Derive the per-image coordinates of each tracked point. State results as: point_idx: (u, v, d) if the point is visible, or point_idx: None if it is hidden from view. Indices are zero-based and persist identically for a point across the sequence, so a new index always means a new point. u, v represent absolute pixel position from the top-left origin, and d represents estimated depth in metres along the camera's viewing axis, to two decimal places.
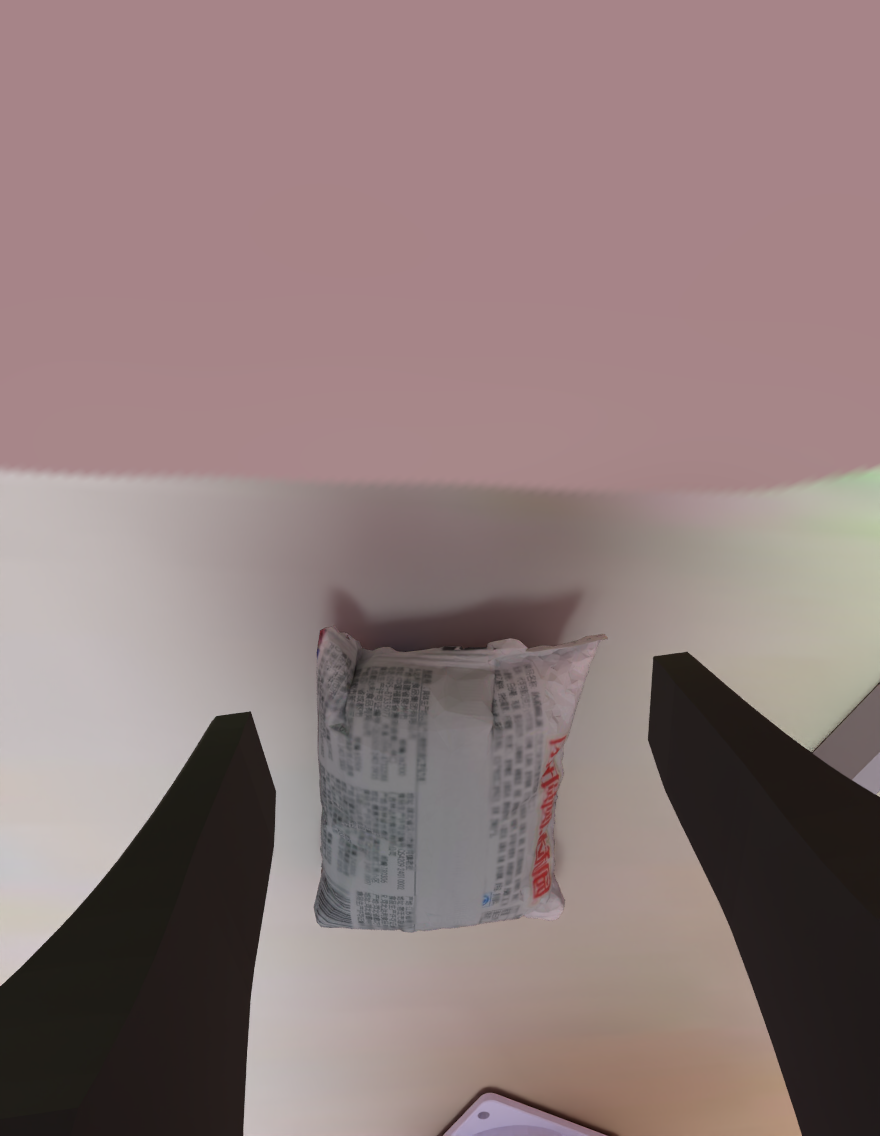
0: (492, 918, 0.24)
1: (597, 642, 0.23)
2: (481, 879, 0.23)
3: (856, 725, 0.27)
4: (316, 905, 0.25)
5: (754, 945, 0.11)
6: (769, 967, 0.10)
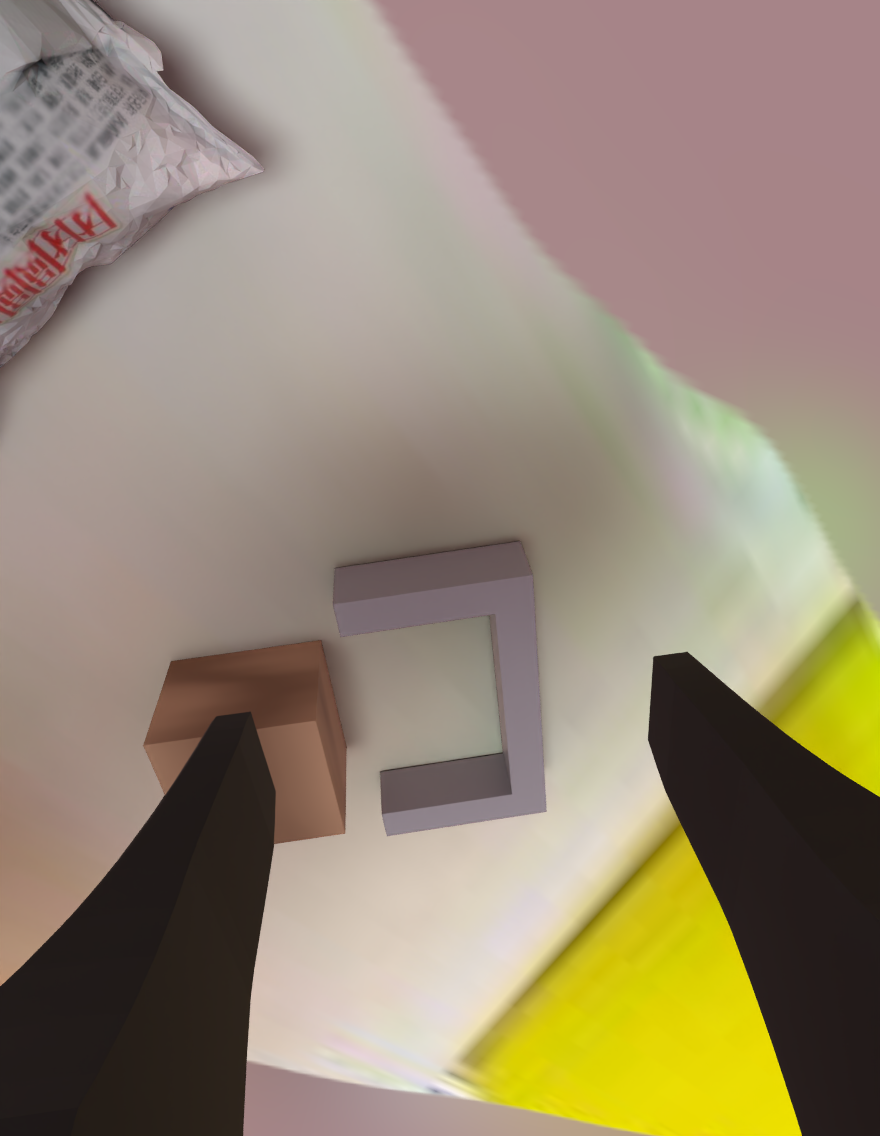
0: None
1: (248, 171, 0.16)
2: None
3: (410, 566, 0.23)
4: None
5: (754, 945, 0.11)
6: (769, 967, 0.10)
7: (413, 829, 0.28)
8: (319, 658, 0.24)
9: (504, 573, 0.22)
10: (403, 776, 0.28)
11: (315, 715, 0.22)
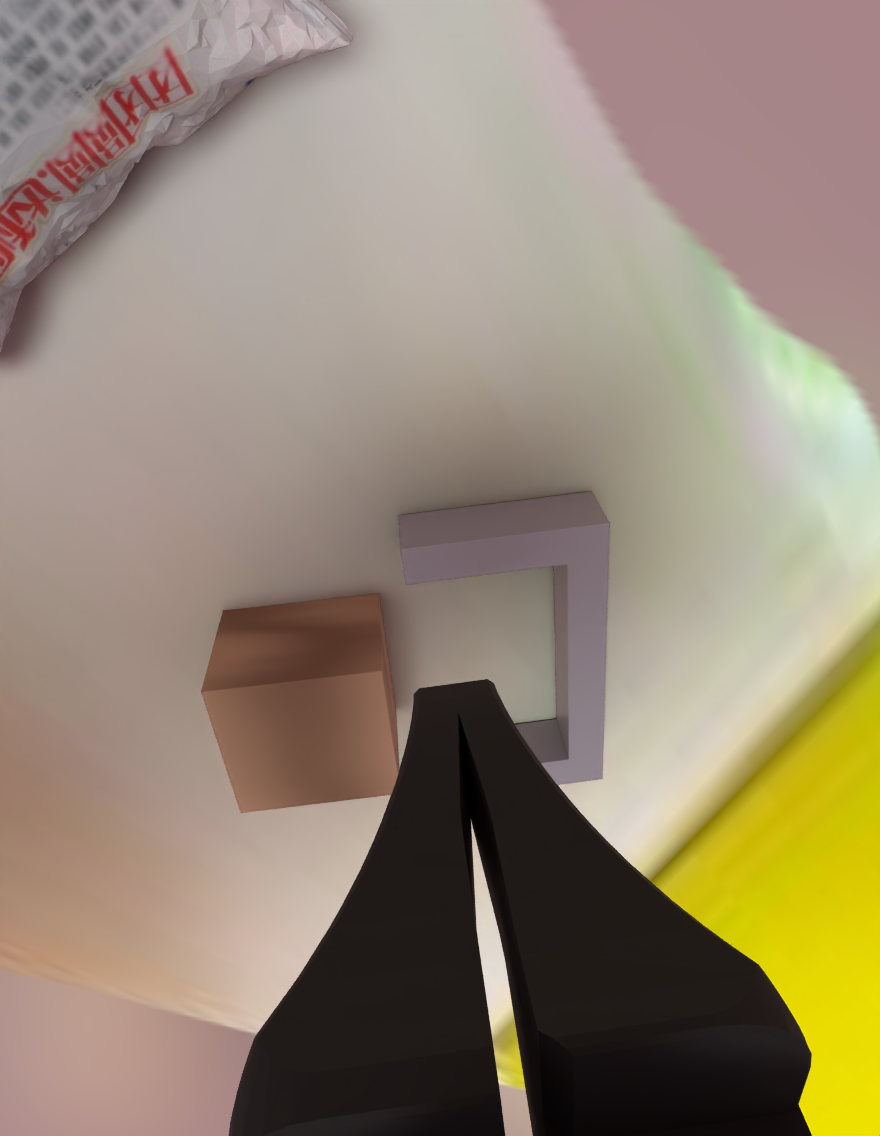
0: None
1: (334, 43, 0.15)
2: None
3: (478, 514, 0.22)
4: None
5: (510, 981, 0.11)
6: (515, 1004, 0.10)
7: None
8: (379, 611, 0.23)
9: (579, 521, 0.21)
10: None
11: (380, 666, 0.21)
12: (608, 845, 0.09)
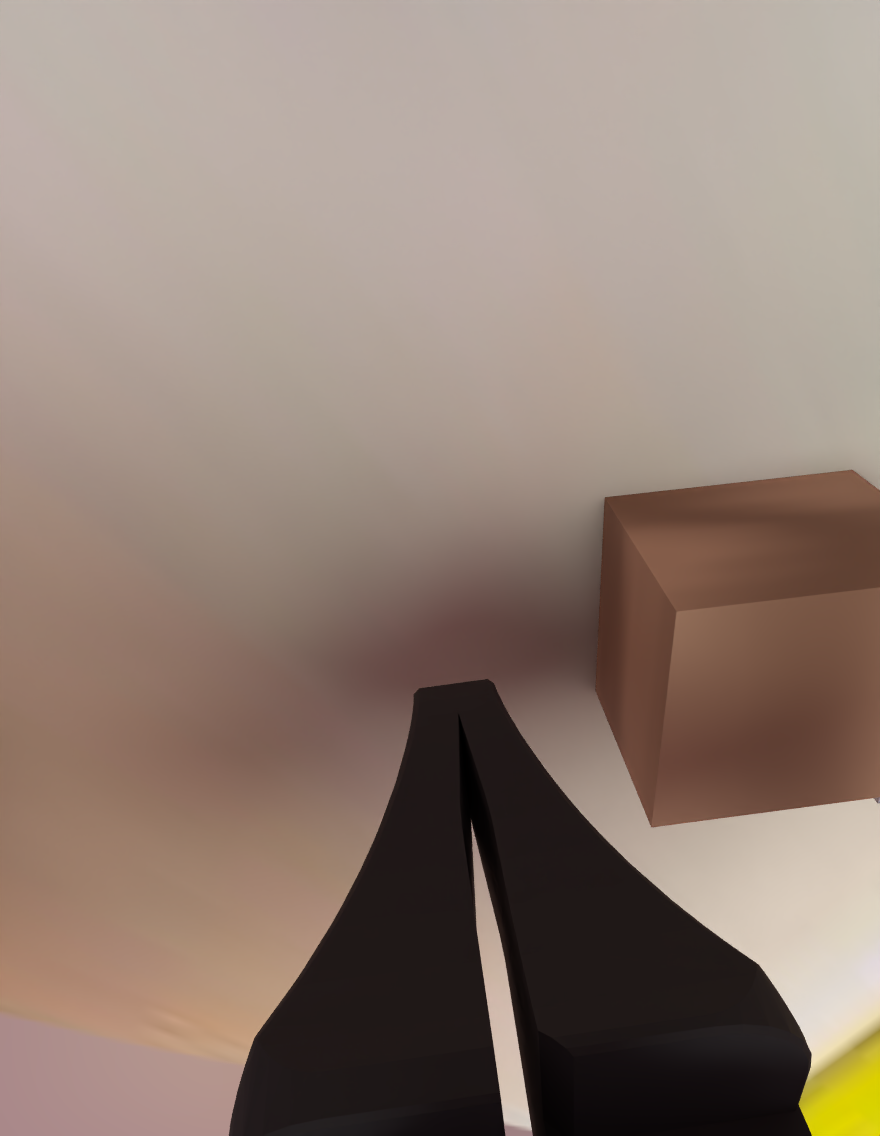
0: None
1: None
2: None
3: None
4: None
5: (510, 981, 0.11)
6: (514, 1004, 0.10)
7: None
8: (879, 492, 0.14)
9: None
10: None
11: None
12: (608, 845, 0.09)
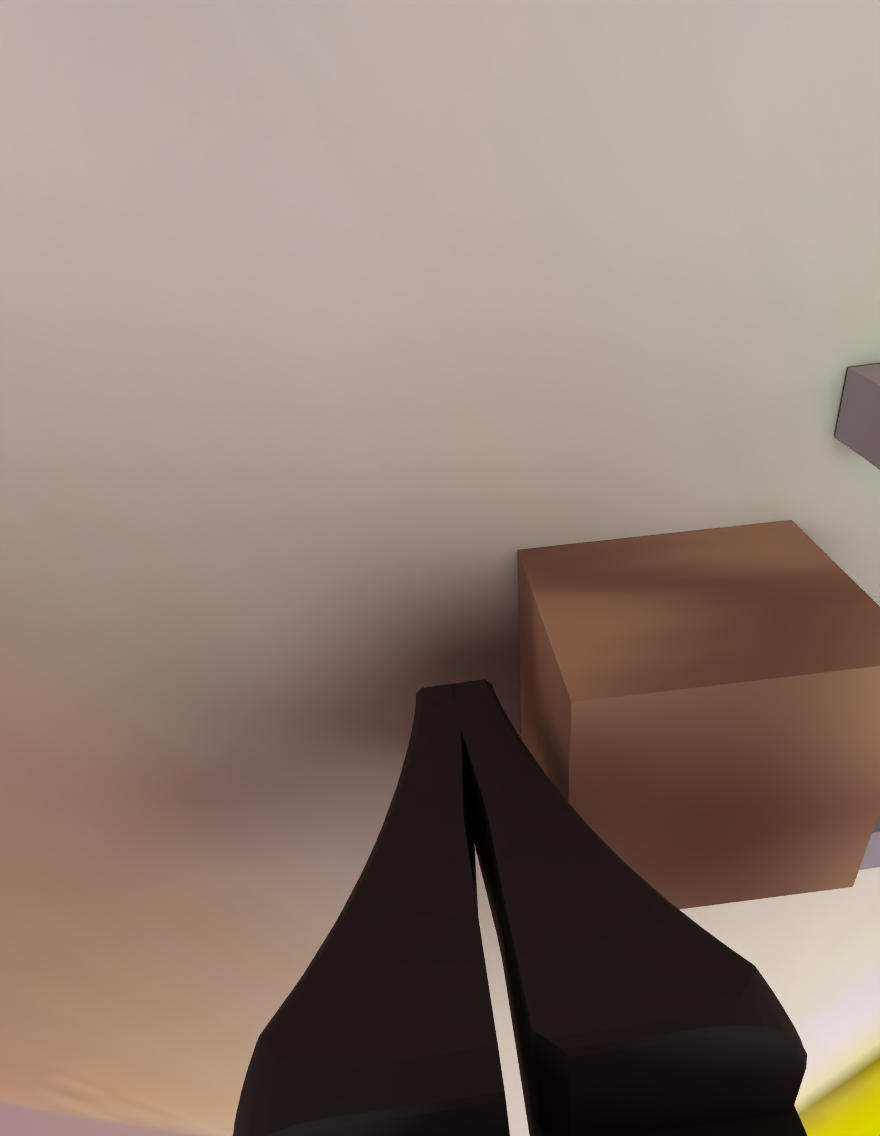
0: None
1: None
2: None
3: None
4: None
5: (507, 981, 0.11)
6: (512, 1005, 0.10)
7: None
8: (820, 552, 0.13)
9: None
10: None
11: None
12: (605, 846, 0.09)
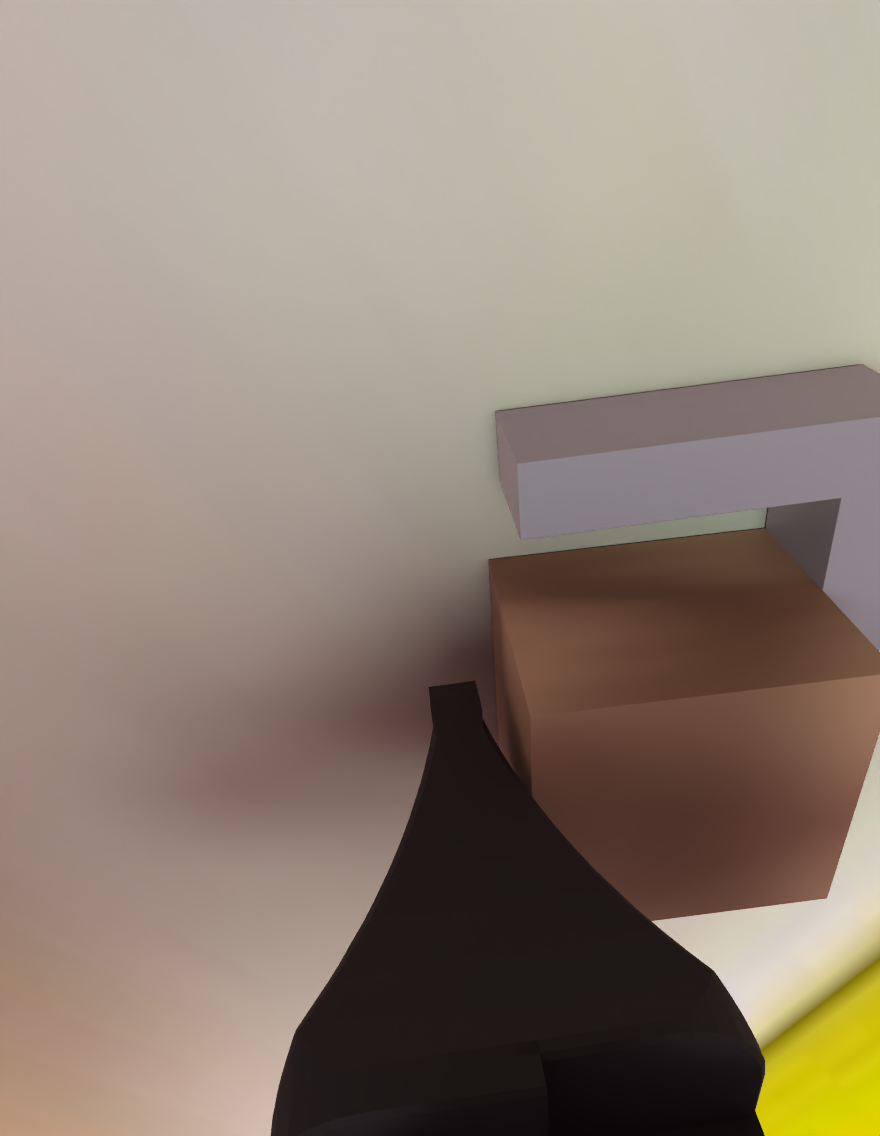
0: None
1: None
2: None
3: (655, 404, 0.12)
4: None
5: None
6: None
7: None
8: (792, 561, 0.13)
9: (873, 408, 0.11)
10: None
11: None
12: (573, 850, 0.09)
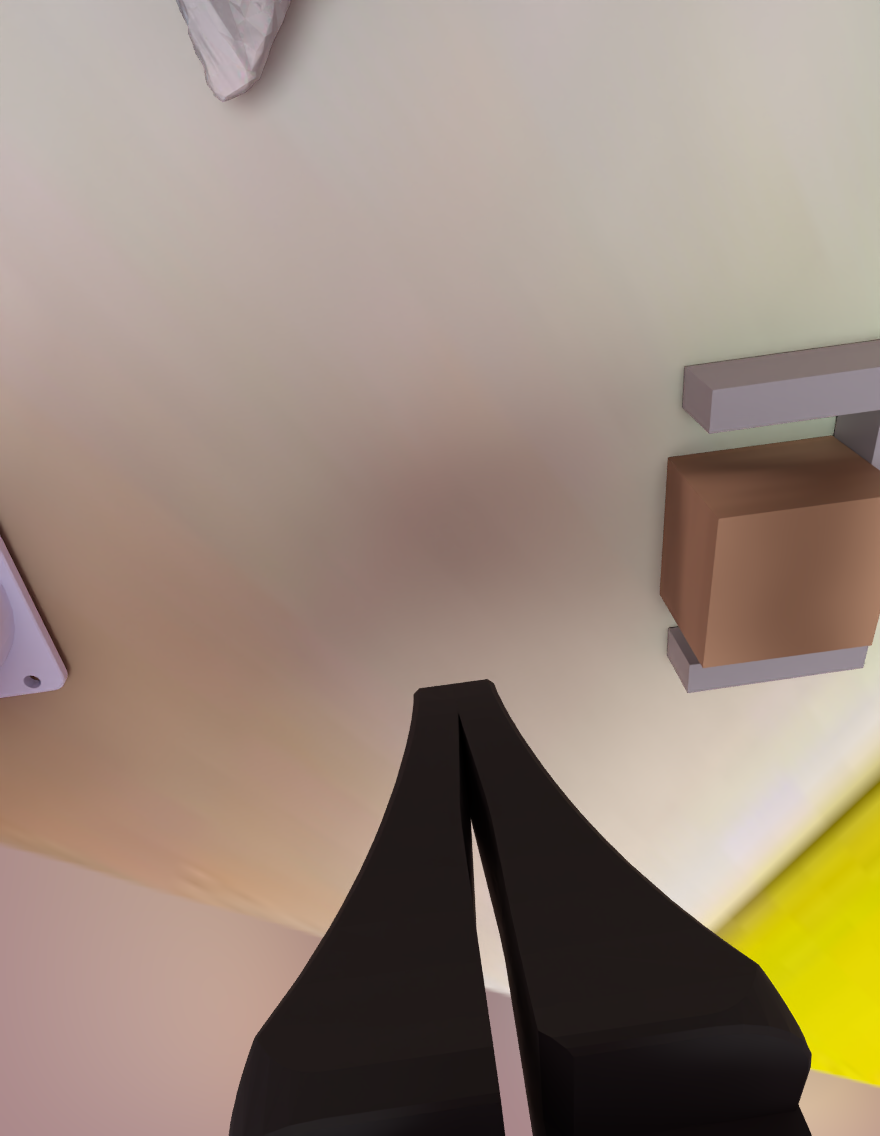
0: None
1: None
2: None
3: (777, 360, 0.21)
4: None
5: (510, 981, 0.11)
6: (515, 1004, 0.10)
7: (717, 685, 0.25)
8: (848, 449, 0.22)
9: None
10: None
11: None
12: (608, 845, 0.09)
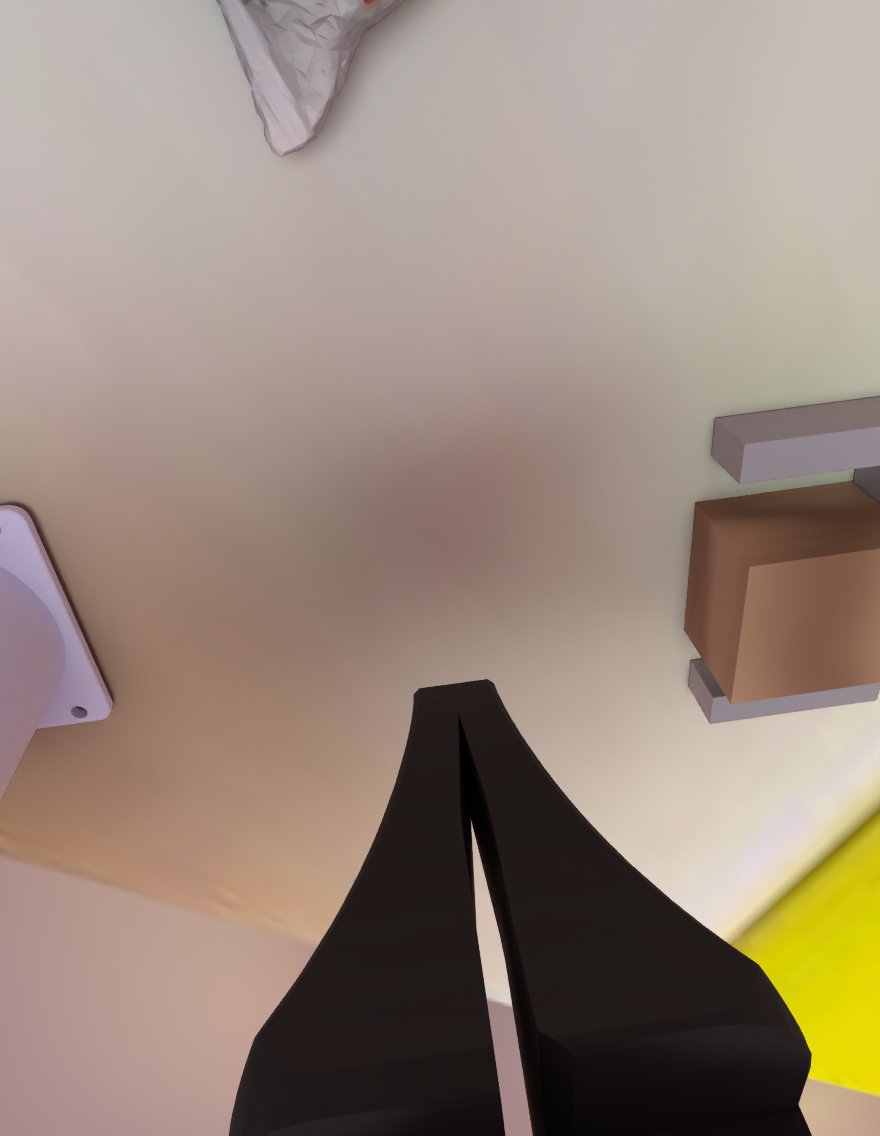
0: None
1: None
2: None
3: (803, 414, 0.22)
4: None
5: (510, 981, 0.11)
6: (515, 1005, 0.10)
7: (738, 716, 0.26)
8: (866, 495, 0.23)
9: None
10: None
11: None
12: (608, 845, 0.09)
